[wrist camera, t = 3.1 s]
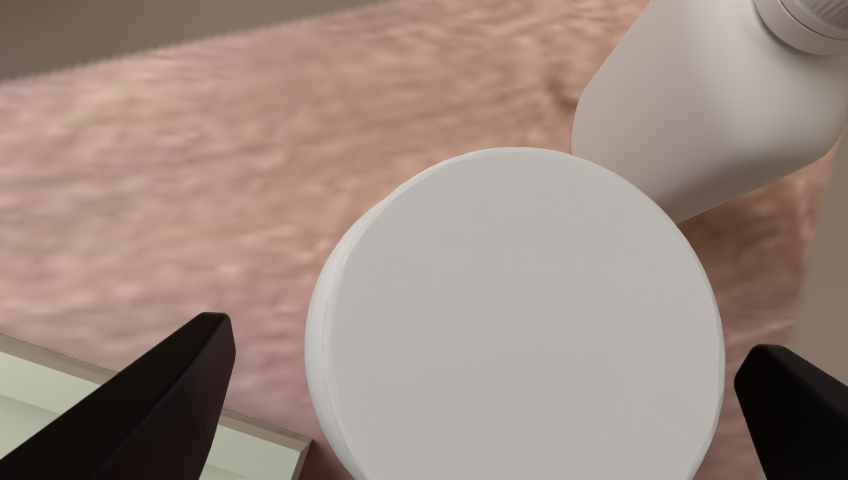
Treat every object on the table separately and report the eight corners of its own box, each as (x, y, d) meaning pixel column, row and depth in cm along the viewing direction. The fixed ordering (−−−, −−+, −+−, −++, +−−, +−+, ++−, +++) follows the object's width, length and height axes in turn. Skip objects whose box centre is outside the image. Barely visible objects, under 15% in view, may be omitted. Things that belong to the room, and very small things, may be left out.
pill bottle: (508, 231, 17) (696, 42, 7) (561, 415, 16) (894, 553, 5) (329, 273, 17) (210, 140, 6) (371, 467, 15) (316, 743, 5)
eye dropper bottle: (697, 122, 19) (1217, -263, 7) (646, 257, 17) (1170, 73, 6) (588, 73, 19) (914, -385, 7) (531, 203, 18) (806, -84, 6)
